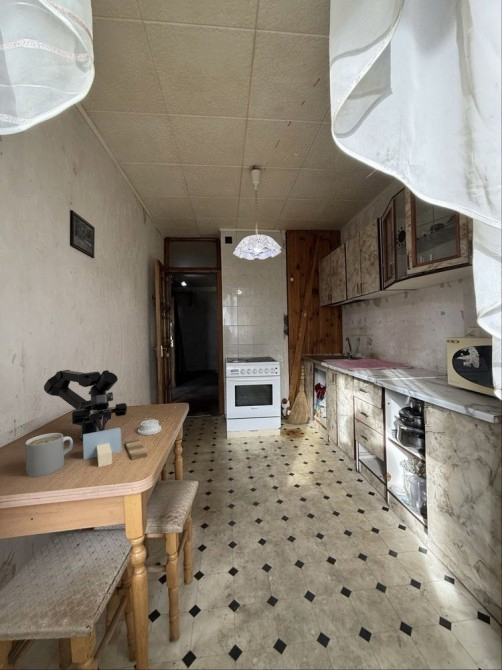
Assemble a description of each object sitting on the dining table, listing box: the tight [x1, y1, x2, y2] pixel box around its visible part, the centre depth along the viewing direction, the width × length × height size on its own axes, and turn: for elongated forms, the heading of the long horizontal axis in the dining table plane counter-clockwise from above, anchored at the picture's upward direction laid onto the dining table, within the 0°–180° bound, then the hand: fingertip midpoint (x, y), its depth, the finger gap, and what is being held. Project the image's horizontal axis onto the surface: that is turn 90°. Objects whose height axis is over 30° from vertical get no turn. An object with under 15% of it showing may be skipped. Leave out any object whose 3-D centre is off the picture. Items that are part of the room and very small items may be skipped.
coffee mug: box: [24, 432, 74, 478], centre depth 90 cm, size 13×10×10 cm
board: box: [124, 438, 148, 461], centre depth 101 cm, size 16×5×1 cm, turn 33°
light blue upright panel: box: [82, 427, 122, 468], centre depth 95 cm, size 12×12×8 cm
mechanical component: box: [137, 419, 162, 436], centre depth 121 cm, size 10×4×10 cm
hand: (102, 432), depth 102 cm, fingers closed
